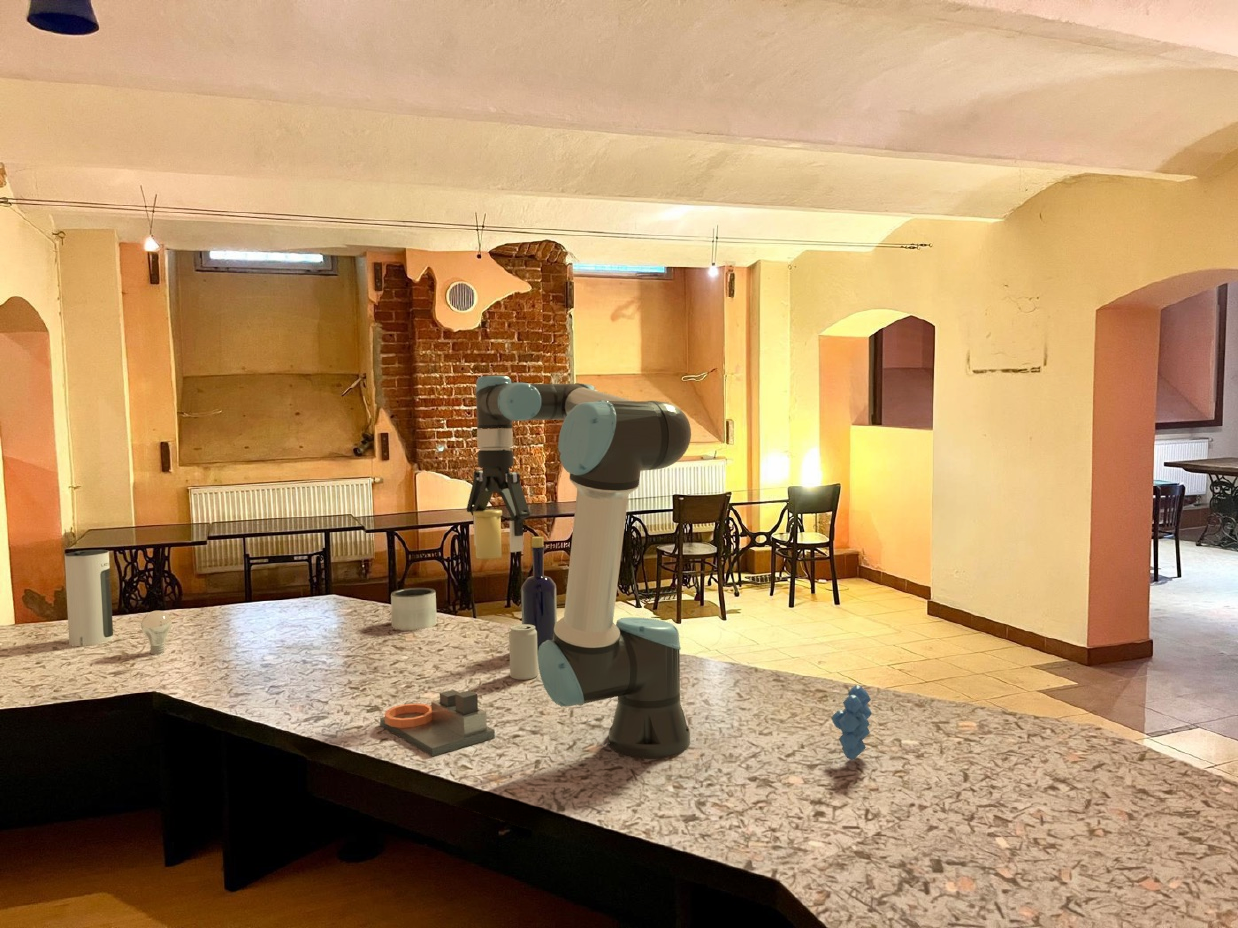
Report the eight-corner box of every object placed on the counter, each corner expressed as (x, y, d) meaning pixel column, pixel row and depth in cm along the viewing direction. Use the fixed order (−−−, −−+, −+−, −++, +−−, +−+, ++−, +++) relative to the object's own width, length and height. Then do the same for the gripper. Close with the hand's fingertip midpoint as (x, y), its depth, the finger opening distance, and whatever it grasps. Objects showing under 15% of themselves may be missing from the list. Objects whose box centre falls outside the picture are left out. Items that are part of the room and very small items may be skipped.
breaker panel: (494, 737, 160) (494, 711, 160) (432, 756, 152) (431, 728, 151) (439, 709, 176) (438, 686, 176) (380, 725, 167) (379, 700, 167)
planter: (384, 635, 238) (382, 596, 238) (403, 624, 251) (401, 587, 250) (426, 636, 236) (425, 596, 235) (443, 625, 248) (442, 587, 248)
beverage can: (533, 682, 193) (532, 630, 192) (506, 681, 194) (505, 629, 194) (541, 674, 199) (540, 623, 199) (515, 673, 201) (514, 622, 200)
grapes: (841, 739, 156) (840, 675, 156) (878, 746, 153) (878, 680, 152) (821, 761, 146) (820, 693, 146) (860, 769, 143) (860, 699, 142)
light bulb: (178, 655, 221) (176, 609, 220) (151, 661, 215) (149, 614, 215) (163, 651, 225) (161, 606, 224) (137, 658, 219) (134, 611, 218)
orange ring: (441, 719, 166) (441, 711, 166) (398, 730, 160) (398, 723, 160) (419, 707, 173) (419, 700, 173) (377, 718, 167) (377, 711, 167)
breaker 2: (478, 717, 160) (477, 693, 160) (464, 721, 158) (463, 697, 158) (469, 713, 163) (469, 690, 162) (455, 717, 161) (455, 693, 160)
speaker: (98, 651, 226) (93, 553, 225) (59, 651, 227) (54, 554, 225) (121, 640, 237) (117, 547, 236) (84, 641, 237) (80, 548, 236)
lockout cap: (508, 556, 185) (507, 510, 185) (484, 560, 181) (483, 513, 180) (492, 553, 190) (491, 508, 189) (468, 557, 185) (467, 511, 185)
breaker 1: (461, 716, 165) (461, 693, 165) (448, 719, 163) (447, 696, 163) (454, 712, 167) (453, 689, 167) (440, 715, 165) (439, 693, 165)
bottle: (543, 662, 209) (541, 540, 208) (514, 657, 214) (511, 538, 213) (565, 653, 217) (563, 536, 216) (536, 648, 222) (534, 534, 220)
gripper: (545, 449, 175) (547, 551, 176) (478, 447, 193) (480, 540, 194) (515, 450, 170) (517, 556, 171) (449, 449, 188) (452, 544, 189)
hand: (498, 548), depth 182 cm, fingers open, 13 cm apart
